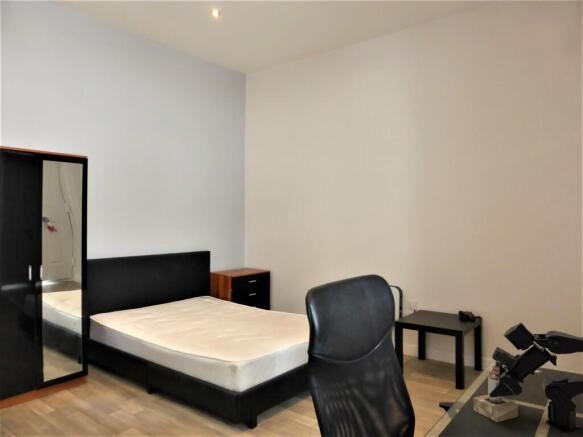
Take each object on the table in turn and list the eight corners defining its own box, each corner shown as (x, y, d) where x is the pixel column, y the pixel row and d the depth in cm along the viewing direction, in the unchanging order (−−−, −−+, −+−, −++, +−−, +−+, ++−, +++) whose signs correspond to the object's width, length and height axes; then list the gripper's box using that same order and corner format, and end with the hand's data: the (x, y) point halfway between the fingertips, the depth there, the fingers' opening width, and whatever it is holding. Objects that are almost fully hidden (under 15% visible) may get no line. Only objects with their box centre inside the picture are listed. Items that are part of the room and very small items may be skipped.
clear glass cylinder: (506, 414, 132) (505, 375, 132) (496, 417, 130) (496, 377, 130) (494, 408, 136) (494, 371, 136) (484, 411, 134) (484, 373, 134)
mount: (517, 416, 131) (517, 403, 131) (497, 422, 127) (497, 408, 127) (493, 405, 139) (493, 393, 139) (473, 410, 135) (473, 397, 135)
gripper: (508, 334, 140) (472, 362, 145) (509, 348, 123) (469, 379, 128) (535, 361, 136) (498, 389, 141) (540, 379, 119) (497, 410, 124)
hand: (490, 391), depth 134 cm, fingers open, 9 cm apart
